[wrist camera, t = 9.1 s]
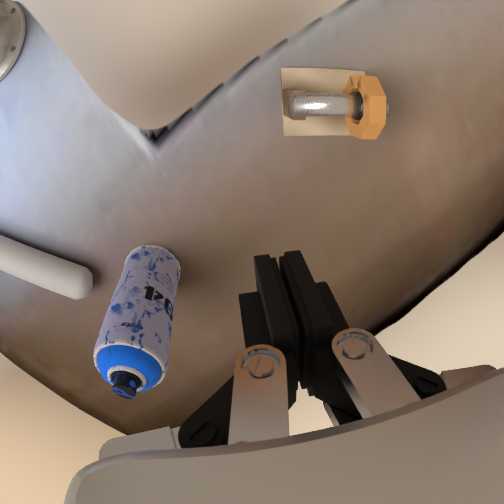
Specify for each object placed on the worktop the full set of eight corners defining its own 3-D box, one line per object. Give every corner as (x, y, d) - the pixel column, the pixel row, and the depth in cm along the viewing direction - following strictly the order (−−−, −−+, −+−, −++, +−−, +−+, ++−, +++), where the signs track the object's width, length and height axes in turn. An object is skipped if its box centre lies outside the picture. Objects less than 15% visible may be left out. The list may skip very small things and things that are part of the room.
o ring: (343, 74, 30) (369, 75, 24) (357, 75, 30) (386, 77, 24) (343, 131, 33) (368, 143, 27) (357, 131, 33) (384, 143, 27)
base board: (280, 67, 30) (291, 65, 26) (363, 71, 31) (385, 71, 26) (283, 135, 34) (294, 145, 30) (363, 134, 35) (384, 144, 30)
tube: (92, 275, 37) (-47, 219, 29) (84, 311, 37) (-51, 254, 30) (100, 264, 42) (-29, 215, 34) (93, 297, 42) (-33, 246, 35)
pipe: (288, 89, 29) (295, 90, 26) (377, 93, 29) (390, 95, 27) (289, 118, 30) (296, 121, 28) (376, 119, 31) (389, 123, 28)
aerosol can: (192, 274, 43) (185, 400, 25) (151, 301, 44) (129, 421, 27) (154, 232, 39) (117, 353, 22) (113, 264, 40) (67, 382, 23)
